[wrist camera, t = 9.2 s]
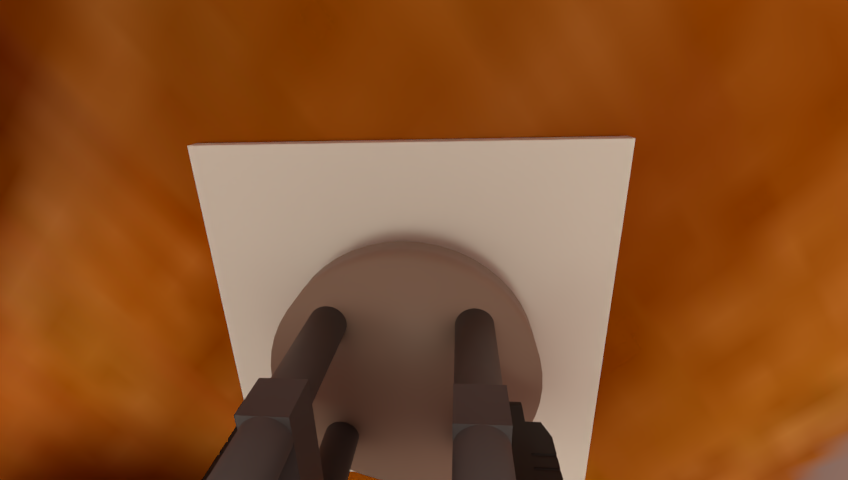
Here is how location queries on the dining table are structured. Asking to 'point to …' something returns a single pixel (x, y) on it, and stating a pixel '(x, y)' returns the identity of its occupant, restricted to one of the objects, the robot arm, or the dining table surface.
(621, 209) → the mat
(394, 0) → the dining table surface
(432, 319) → the stool
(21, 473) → the dining table surface
